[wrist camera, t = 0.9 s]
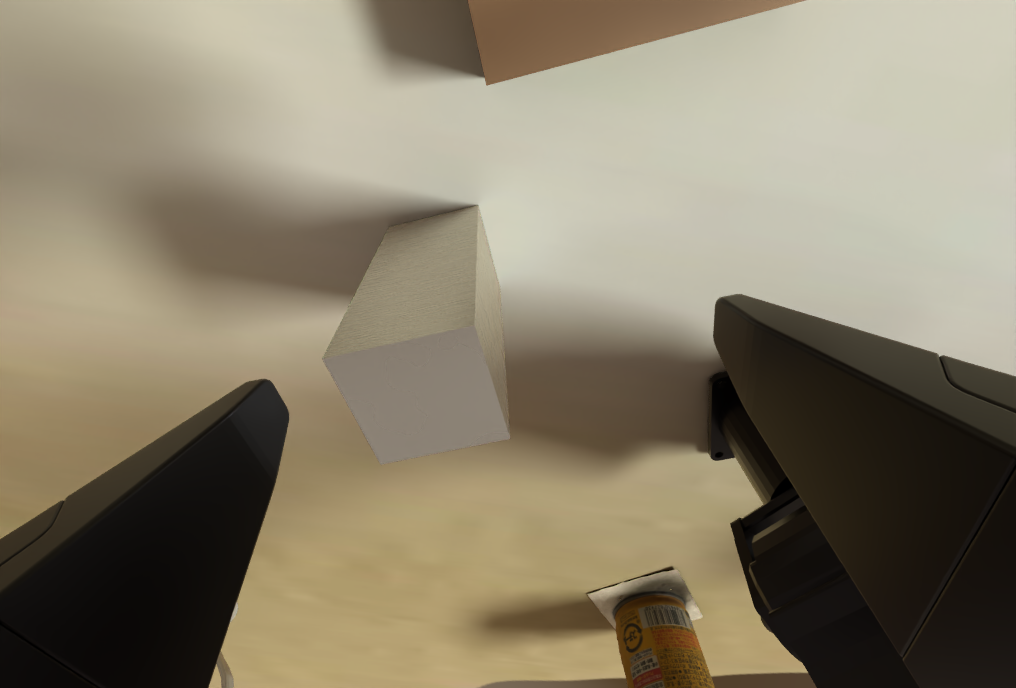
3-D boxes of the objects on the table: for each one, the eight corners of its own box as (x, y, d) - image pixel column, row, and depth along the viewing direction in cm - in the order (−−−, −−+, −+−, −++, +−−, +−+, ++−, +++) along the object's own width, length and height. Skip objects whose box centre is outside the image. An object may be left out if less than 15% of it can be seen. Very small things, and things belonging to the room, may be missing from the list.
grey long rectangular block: (499, 287, 22) (510, 438, 14) (419, 306, 22) (380, 464, 14) (478, 205, 20) (474, 325, 12) (388, 226, 20) (322, 358, 12)
